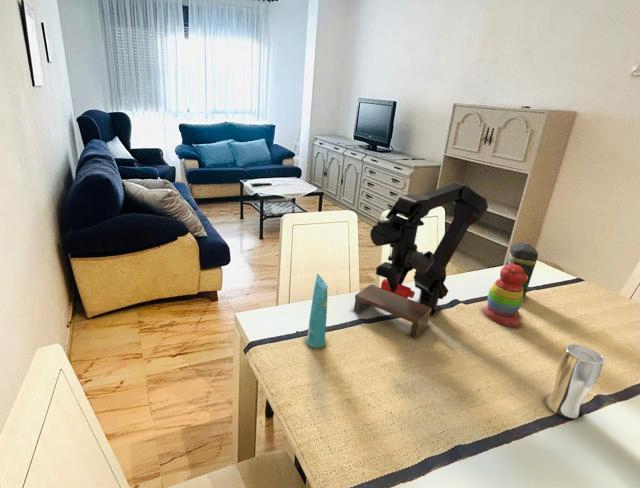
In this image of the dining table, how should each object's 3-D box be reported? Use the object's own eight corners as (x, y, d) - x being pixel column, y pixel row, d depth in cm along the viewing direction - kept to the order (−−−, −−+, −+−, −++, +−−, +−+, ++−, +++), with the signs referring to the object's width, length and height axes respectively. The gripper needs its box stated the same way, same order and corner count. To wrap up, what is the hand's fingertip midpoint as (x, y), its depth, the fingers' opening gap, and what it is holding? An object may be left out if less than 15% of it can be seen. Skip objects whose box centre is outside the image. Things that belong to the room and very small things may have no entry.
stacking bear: (519, 329, 115) (537, 276, 109) (482, 319, 120) (497, 267, 113) (518, 313, 124) (534, 263, 118) (483, 304, 128) (497, 255, 122)
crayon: (379, 289, 115) (382, 279, 114) (384, 288, 117) (386, 278, 117) (409, 300, 109) (413, 290, 109) (413, 299, 112) (416, 289, 111)
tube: (329, 349, 102) (337, 285, 95) (313, 352, 100) (319, 287, 93) (317, 333, 108) (323, 272, 101) (301, 336, 107) (307, 274, 100)
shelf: (368, 300, 127) (371, 284, 125) (428, 324, 115) (431, 307, 113) (352, 311, 120) (355, 294, 118) (414, 339, 108) (418, 321, 106)
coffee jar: (526, 303, 130) (542, 253, 124) (500, 297, 133) (514, 248, 126) (521, 290, 139) (536, 243, 132) (497, 286, 142) (510, 239, 135)
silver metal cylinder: (574, 401, 88) (597, 347, 83) (586, 424, 82) (611, 367, 77) (540, 393, 90) (560, 340, 85) (549, 414, 84) (571, 359, 79)
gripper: (419, 258, 96) (408, 312, 102) (444, 240, 110) (434, 288, 116) (378, 246, 103) (371, 297, 109) (407, 230, 116) (399, 276, 122)
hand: (395, 289), depth 114 cm, fingers closed on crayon, 3 cm apart
